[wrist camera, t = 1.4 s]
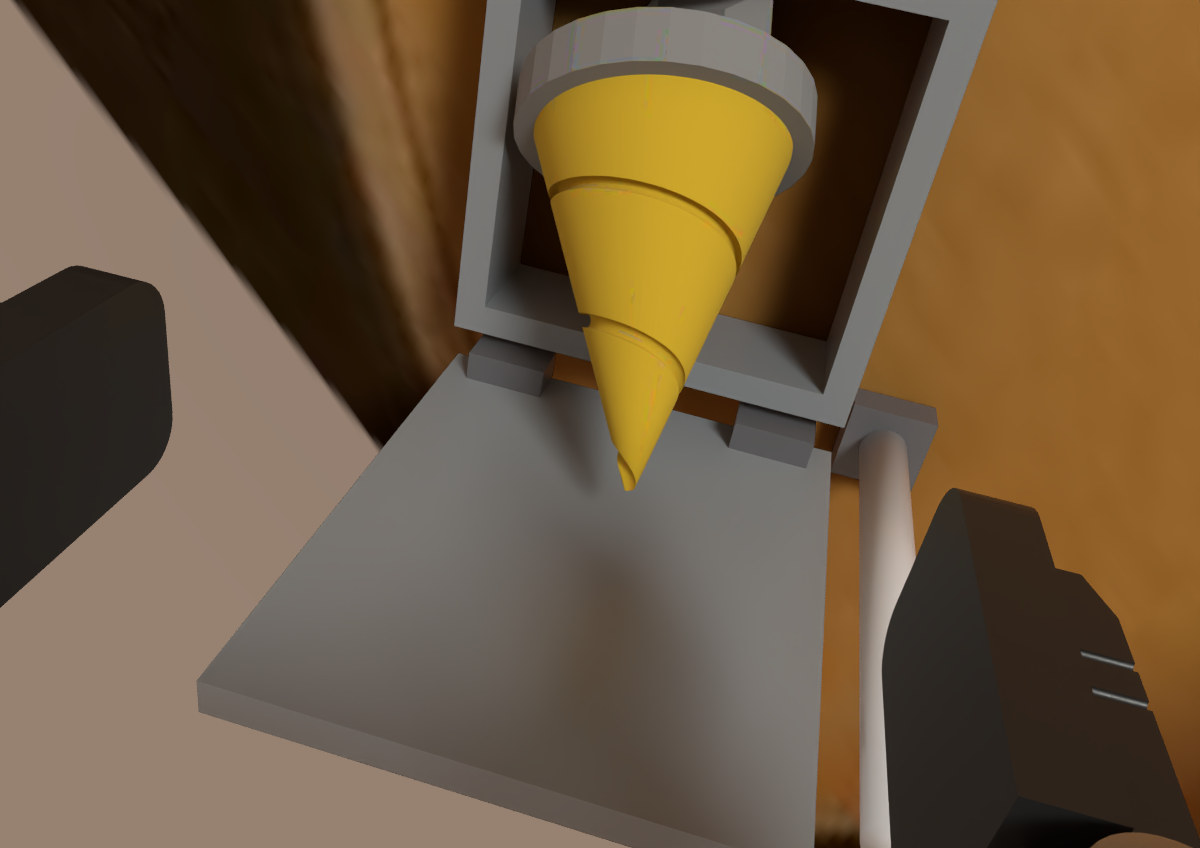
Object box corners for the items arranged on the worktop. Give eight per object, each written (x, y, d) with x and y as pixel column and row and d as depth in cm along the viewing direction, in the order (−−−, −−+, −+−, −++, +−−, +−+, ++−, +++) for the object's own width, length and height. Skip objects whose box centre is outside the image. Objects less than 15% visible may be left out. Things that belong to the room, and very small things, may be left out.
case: (1104, -3, 17) (1459, 204, 7) (908, 474, 23) (949, 978, 12) (541, -122, 18) (143, -91, 8) (482, 361, 24) (201, 741, 14)
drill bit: (884, -22, 18) (860, 512, 16) (672, 81, 22) (630, 520, 20) (689, -205, 15) (625, 442, 13) (480, -47, 19) (403, 469, 16)
